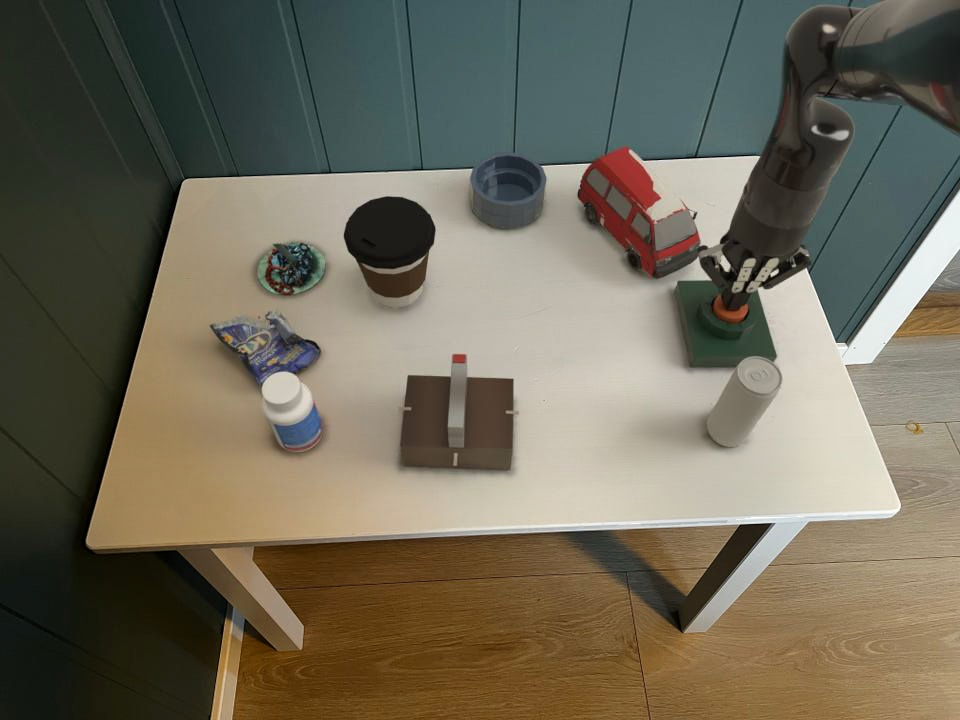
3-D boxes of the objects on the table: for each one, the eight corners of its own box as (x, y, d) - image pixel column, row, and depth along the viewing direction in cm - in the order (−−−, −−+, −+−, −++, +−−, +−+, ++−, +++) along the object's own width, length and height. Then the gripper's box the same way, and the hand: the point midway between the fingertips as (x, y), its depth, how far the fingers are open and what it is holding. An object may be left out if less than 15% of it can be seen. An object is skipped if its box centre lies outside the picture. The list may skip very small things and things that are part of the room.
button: (746, 326, 89) (751, 318, 88) (714, 327, 89) (718, 318, 88) (739, 301, 91) (744, 292, 90) (708, 301, 91) (711, 292, 90)
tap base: (517, 385, 88) (519, 362, 83) (516, 487, 80) (518, 467, 76) (407, 382, 88) (404, 358, 84) (396, 483, 81) (392, 463, 76)
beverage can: (698, 418, 85) (727, 361, 75) (734, 408, 86) (768, 350, 76) (717, 454, 83) (750, 400, 73) (755, 442, 84) (793, 387, 74)
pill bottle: (333, 428, 84) (318, 383, 76) (300, 462, 82) (281, 419, 74) (300, 403, 86) (281, 357, 78) (266, 436, 84) (244, 391, 76)
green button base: (771, 366, 89) (782, 348, 86) (689, 367, 89) (698, 348, 86) (749, 290, 96) (759, 270, 93) (673, 291, 96) (681, 271, 93)
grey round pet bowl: (557, 211, 104) (561, 185, 100) (497, 241, 101) (498, 215, 97) (515, 170, 109) (517, 143, 105) (456, 197, 105) (456, 170, 101)
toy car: (642, 295, 96) (658, 242, 87) (572, 204, 105) (581, 149, 96) (699, 272, 98) (720, 218, 89) (626, 185, 107) (638, 129, 99)
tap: (463, 447, 77) (463, 426, 73) (448, 447, 77) (447, 426, 73) (467, 376, 82) (467, 352, 78) (453, 376, 82) (452, 352, 78)
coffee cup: (402, 337, 92) (393, 275, 82) (338, 296, 95) (322, 231, 85) (456, 284, 96) (454, 218, 86) (393, 246, 100) (384, 180, 90)
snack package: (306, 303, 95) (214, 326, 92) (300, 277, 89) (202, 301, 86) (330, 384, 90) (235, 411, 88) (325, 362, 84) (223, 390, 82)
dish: (329, 270, 94) (276, 239, 91) (301, 313, 96) (248, 284, 94) (331, 249, 101) (282, 220, 98) (305, 290, 103) (256, 262, 101)
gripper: (723, 227, 72) (682, 330, 87) (855, 226, 72) (792, 329, 87) (708, 175, 76) (671, 281, 91) (834, 174, 77) (777, 280, 91)
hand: (731, 304), depth 89 cm, fingers closed
